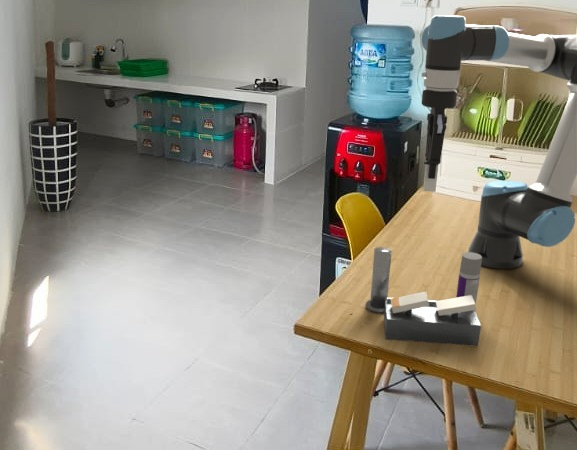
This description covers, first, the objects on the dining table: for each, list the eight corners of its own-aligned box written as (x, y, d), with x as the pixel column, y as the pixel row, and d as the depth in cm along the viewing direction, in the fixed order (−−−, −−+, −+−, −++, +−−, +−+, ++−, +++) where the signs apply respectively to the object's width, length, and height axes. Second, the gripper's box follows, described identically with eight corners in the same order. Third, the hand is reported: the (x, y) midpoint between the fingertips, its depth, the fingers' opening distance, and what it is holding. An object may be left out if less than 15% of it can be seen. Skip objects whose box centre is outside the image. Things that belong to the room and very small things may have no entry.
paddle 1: (427, 296, 143) (425, 290, 143) (429, 305, 139) (427, 299, 138) (392, 304, 144) (390, 298, 144) (393, 313, 140) (391, 307, 140)
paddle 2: (472, 300, 142) (471, 295, 142) (476, 309, 138) (475, 304, 138) (436, 306, 144) (435, 301, 143) (438, 315, 140) (437, 310, 139)
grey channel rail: (470, 325, 147) (474, 301, 145) (478, 345, 139) (481, 320, 136) (383, 319, 149) (385, 295, 146) (385, 339, 140) (387, 314, 138)
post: (389, 303, 157) (395, 246, 152) (391, 314, 151) (396, 256, 146) (365, 301, 157) (369, 244, 152) (365, 312, 152) (370, 254, 147)
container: (451, 309, 155) (458, 252, 150) (470, 308, 155) (478, 251, 150) (457, 318, 150) (465, 259, 145) (477, 318, 151) (485, 259, 146)
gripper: (420, 84, 148) (410, 182, 156) (426, 92, 136) (415, 197, 144) (452, 85, 147) (441, 183, 155) (462, 93, 135) (449, 199, 143)
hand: (429, 190), depth 149 cm, fingers closed
